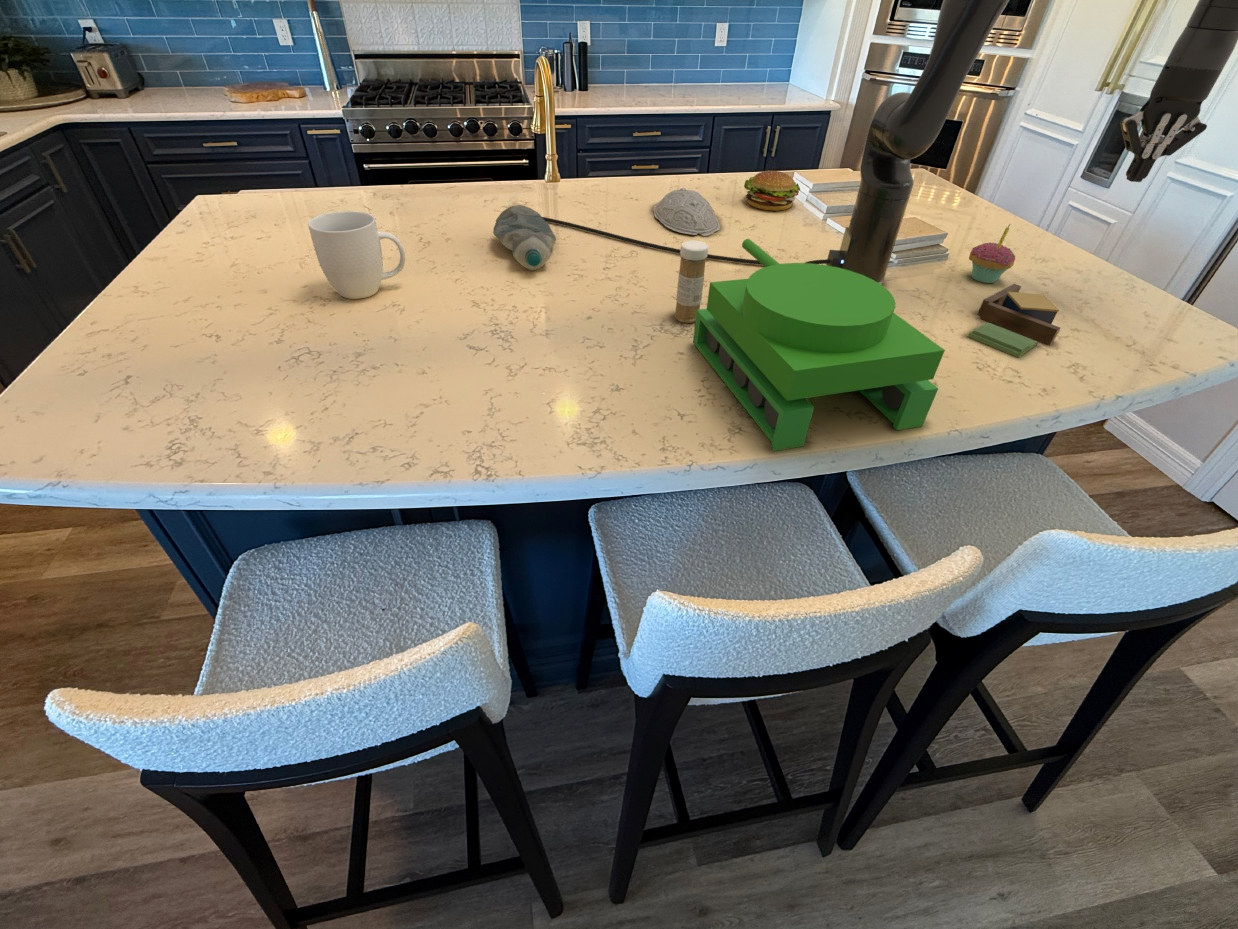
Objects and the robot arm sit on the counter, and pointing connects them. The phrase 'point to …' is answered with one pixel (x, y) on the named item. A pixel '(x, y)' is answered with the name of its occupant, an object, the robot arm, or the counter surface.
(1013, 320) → the corner guide
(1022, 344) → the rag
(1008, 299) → the tea tin
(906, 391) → the tank
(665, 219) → the grey turtle shell
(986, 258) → the cupcake
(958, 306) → the counter surface
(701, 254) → the sprinkles bottle
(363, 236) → the mug
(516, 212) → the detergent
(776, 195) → the food
